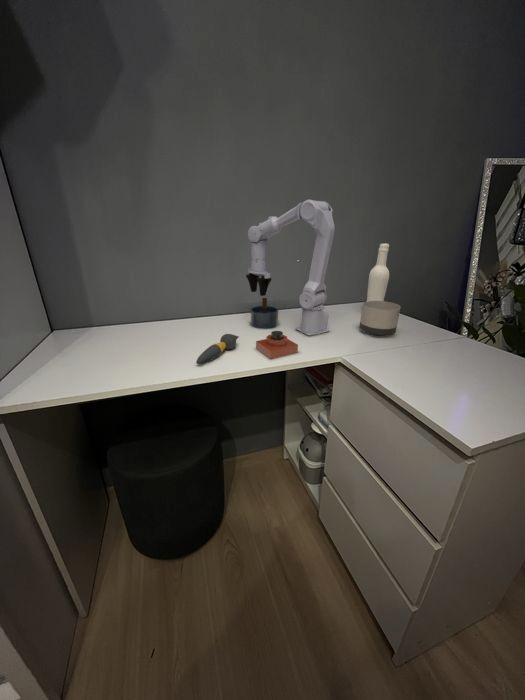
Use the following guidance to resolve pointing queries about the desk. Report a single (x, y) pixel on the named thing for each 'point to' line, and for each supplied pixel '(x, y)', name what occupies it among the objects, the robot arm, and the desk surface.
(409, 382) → the desk surface
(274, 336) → the pump button
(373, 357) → the desk surface
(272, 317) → the dark blue round bowl
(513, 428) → the desk surface
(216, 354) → the paintbrush
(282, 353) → the knobbed square stamp
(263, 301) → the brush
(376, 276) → the bottle
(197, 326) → the desk surface
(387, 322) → the planter
